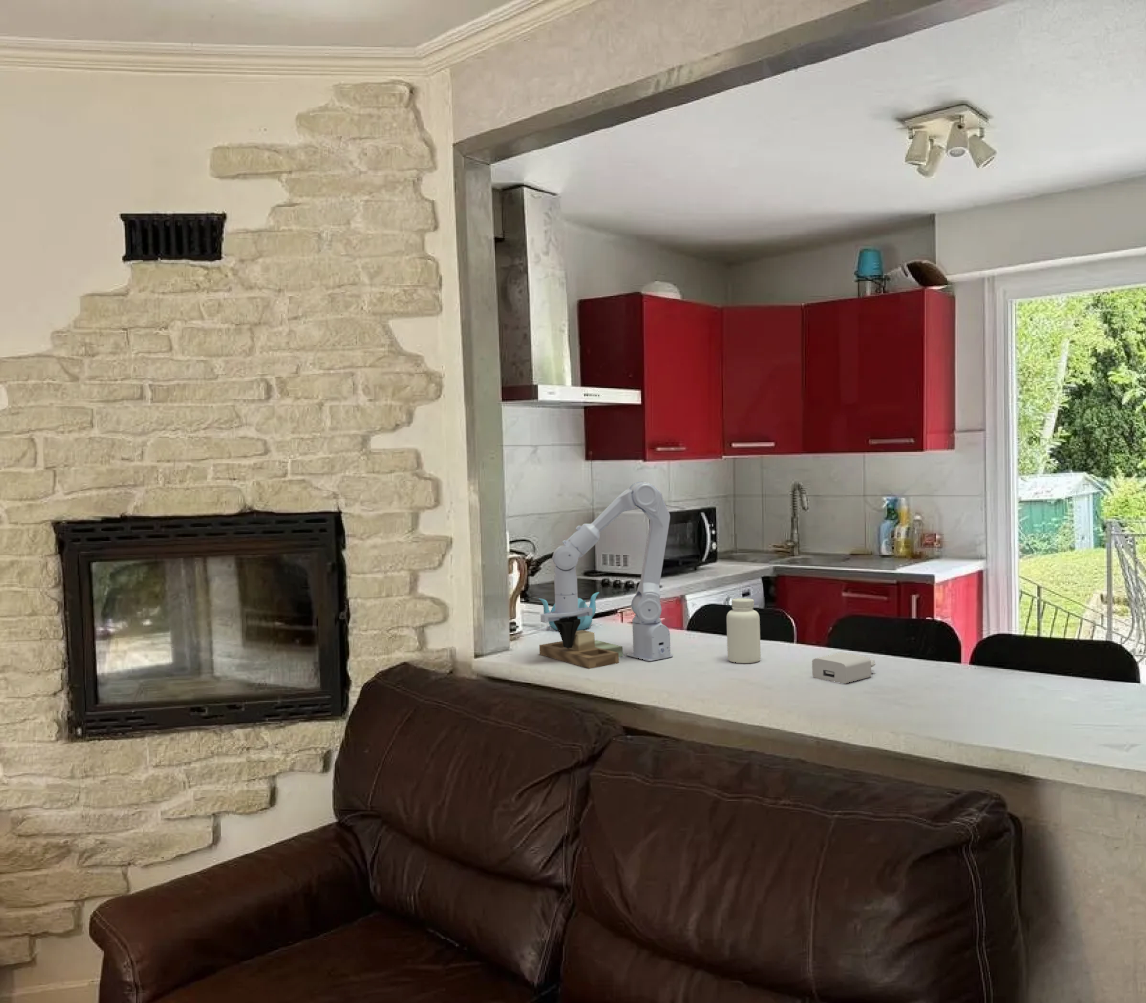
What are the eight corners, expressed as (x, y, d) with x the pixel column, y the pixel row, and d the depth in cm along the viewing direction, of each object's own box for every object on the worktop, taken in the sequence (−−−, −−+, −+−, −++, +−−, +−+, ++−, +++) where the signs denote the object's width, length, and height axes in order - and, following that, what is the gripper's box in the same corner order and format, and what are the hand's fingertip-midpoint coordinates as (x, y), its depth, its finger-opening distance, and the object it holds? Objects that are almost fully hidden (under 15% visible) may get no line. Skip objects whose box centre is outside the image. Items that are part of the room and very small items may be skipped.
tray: (636, 659, 236) (635, 649, 236) (589, 668, 228) (588, 658, 228) (584, 646, 254) (584, 637, 254) (539, 654, 246) (539, 645, 246)
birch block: (594, 648, 240) (594, 632, 239) (578, 651, 237) (578, 635, 237) (583, 645, 244) (582, 630, 243) (567, 648, 241) (566, 632, 241)
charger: (888, 674, 214) (846, 685, 205) (854, 667, 221) (812, 678, 212) (887, 653, 214) (845, 664, 205) (853, 647, 221) (811, 657, 212)
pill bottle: (759, 656, 235) (757, 596, 234) (762, 664, 227) (760, 601, 226) (726, 657, 236) (725, 597, 235) (728, 664, 228) (727, 602, 227)
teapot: (557, 623, 292) (556, 590, 291) (603, 624, 286) (602, 590, 286) (539, 632, 278) (537, 597, 278) (587, 633, 273) (585, 598, 272)
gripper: (580, 589, 245) (582, 641, 245) (533, 595, 236) (535, 649, 237) (596, 591, 239) (598, 645, 239) (548, 598, 231) (550, 653, 231)
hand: (568, 647), depth 238 cm, fingers closed
